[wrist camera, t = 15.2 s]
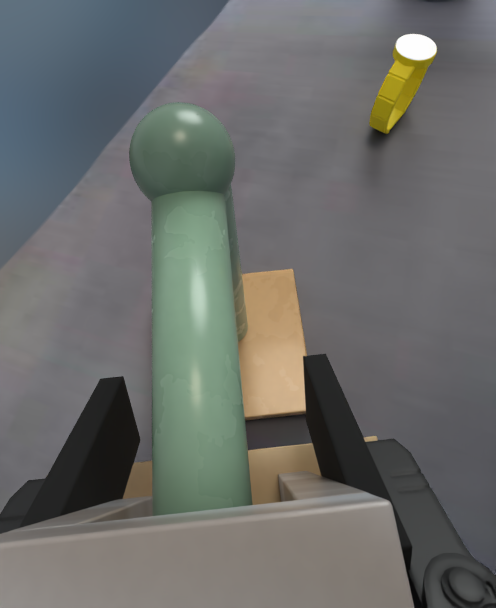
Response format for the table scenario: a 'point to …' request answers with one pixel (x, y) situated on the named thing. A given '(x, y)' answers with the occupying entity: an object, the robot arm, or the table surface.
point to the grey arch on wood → (216, 548)
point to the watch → (402, 80)
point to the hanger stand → (208, 318)
